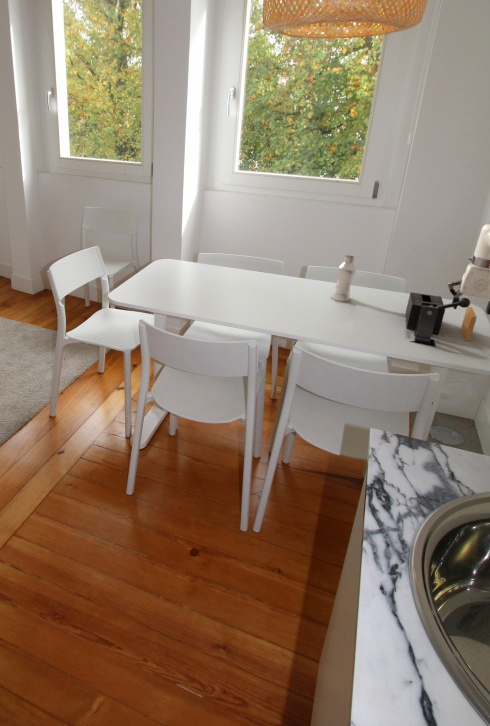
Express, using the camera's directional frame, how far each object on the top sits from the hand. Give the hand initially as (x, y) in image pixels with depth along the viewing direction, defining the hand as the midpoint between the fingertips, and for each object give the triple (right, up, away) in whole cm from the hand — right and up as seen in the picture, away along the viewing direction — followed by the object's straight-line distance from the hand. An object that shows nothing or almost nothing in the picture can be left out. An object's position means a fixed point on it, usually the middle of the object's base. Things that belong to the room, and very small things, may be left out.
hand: (470, 310), depth 159 cm
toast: (0, -10, +3) cm, 10 cm away
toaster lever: (-12, 0, -7) cm, 14 cm away
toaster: (-11, -7, +10) cm, 17 cm away
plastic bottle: (-31, +3, +33) cm, 46 cm away
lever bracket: (-17, -11, 0) cm, 21 cm away
